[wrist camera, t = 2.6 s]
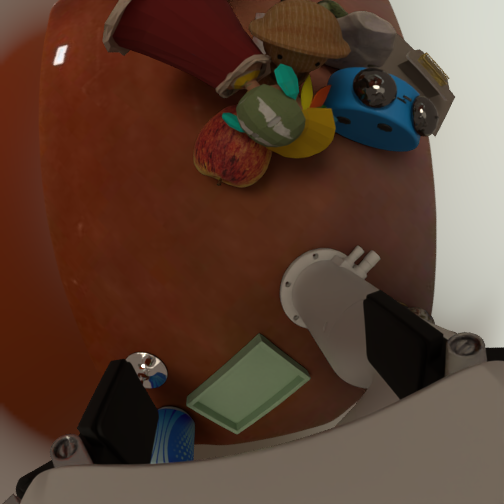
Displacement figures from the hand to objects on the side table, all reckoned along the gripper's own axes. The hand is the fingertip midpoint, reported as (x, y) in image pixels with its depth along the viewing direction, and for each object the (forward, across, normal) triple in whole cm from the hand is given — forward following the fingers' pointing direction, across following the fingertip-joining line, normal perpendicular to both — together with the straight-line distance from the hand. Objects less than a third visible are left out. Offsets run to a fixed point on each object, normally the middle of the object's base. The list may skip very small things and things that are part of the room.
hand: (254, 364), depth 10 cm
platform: (+30, -37, -19) cm, 51 cm away
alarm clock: (+30, -21, -12) cm, 39 cm away
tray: (+30, +4, +25) cm, 39 cm away
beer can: (+30, +19, +30) cm, 46 cm away
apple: (+26, -7, -15) cm, 31 cm away
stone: (+30, -21, -21) cm, 42 cm away
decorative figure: (+13, +5, -33) cm, 36 cm away
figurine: (+30, -10, -18) cm, 36 cm away
